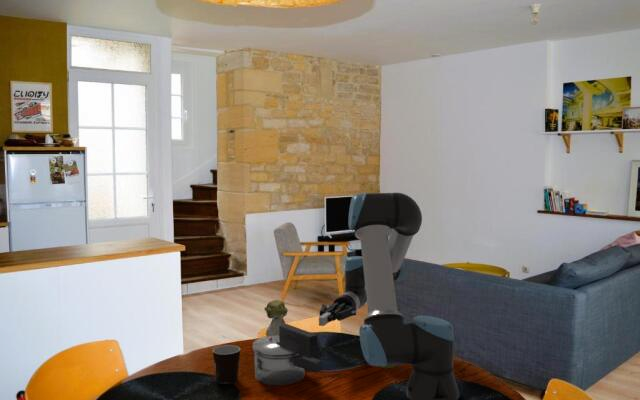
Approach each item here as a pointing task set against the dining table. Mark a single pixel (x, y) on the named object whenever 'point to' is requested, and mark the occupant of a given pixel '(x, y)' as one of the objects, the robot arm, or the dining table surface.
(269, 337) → the lid
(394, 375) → the dining table surface
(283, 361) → the pot
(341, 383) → the dining table surface
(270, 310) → the green sculpted bust
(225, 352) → the coffee mug
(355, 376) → the dining table surface
